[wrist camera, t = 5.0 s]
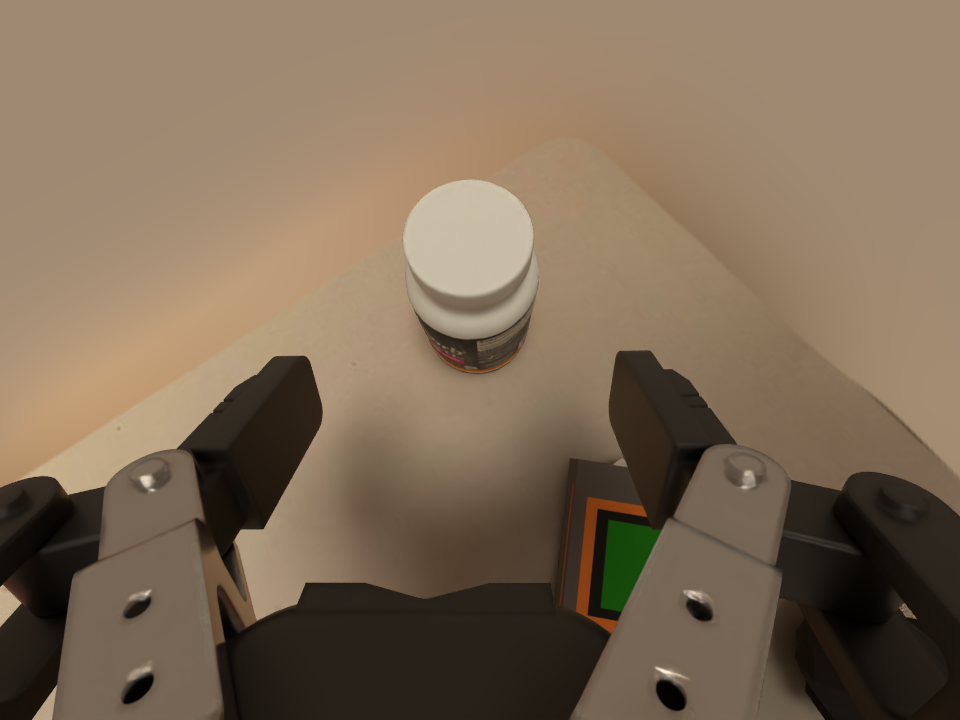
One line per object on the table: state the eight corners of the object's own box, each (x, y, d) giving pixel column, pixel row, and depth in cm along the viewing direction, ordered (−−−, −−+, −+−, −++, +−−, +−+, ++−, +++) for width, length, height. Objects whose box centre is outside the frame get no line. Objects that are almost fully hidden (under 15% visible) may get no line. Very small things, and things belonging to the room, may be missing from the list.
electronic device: (539, 845, 16) (580, 451, 19) (532, 784, 19) (569, 451, 22) (719, 886, 16) (732, 475, 19) (684, 817, 18) (701, 472, 21)
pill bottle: (409, 323, 24) (353, 228, 15) (484, 264, 25) (476, 138, 16) (472, 396, 23) (454, 344, 14) (548, 332, 24) (582, 240, 14)
